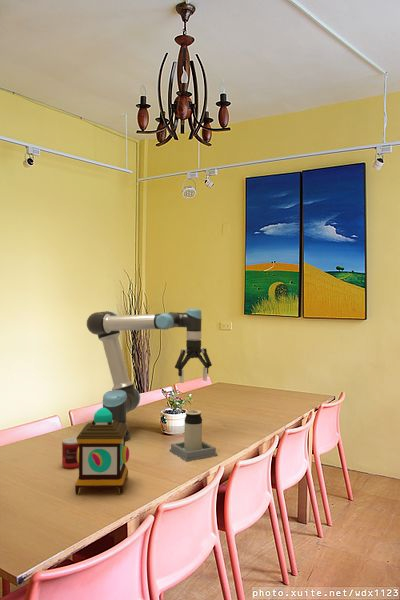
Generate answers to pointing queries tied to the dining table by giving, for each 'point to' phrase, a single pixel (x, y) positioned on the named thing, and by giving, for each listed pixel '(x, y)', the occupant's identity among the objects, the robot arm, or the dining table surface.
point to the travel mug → (193, 430)
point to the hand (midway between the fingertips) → (193, 381)
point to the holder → (193, 455)
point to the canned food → (69, 453)
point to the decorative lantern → (102, 453)
